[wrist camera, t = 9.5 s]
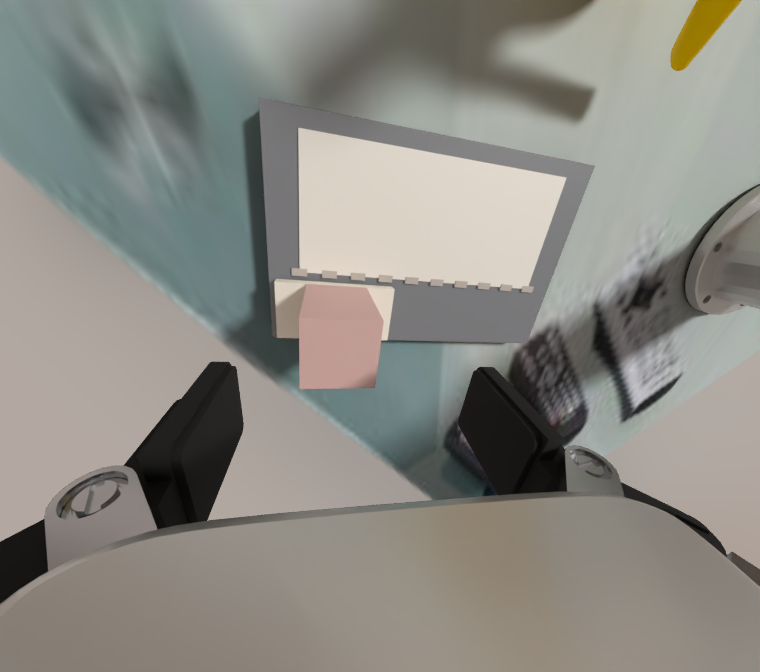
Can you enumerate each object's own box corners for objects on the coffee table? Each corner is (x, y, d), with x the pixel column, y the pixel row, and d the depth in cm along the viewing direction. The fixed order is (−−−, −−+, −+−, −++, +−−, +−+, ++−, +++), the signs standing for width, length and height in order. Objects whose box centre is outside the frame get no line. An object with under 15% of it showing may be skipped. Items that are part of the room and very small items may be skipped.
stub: (392, 286, 20) (422, 322, 14) (385, 336, 21) (409, 387, 15) (276, 278, 18) (251, 315, 12) (278, 333, 20) (258, 389, 14)
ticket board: (577, 168, 20) (596, 165, 19) (516, 336, 26) (527, 344, 24) (264, 106, 15) (258, 96, 14) (275, 328, 21) (271, 338, 20)
